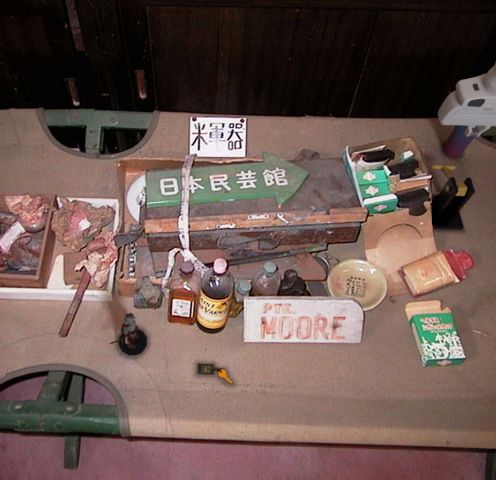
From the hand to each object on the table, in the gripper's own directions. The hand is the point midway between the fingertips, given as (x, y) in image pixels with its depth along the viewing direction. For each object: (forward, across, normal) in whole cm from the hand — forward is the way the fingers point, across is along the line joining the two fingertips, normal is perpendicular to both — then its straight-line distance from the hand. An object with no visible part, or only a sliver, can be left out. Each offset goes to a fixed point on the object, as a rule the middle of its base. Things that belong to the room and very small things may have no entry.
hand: (471, 134), depth 128 cm
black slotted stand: (+20, +2, +10) cm, 22 cm away
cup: (+20, -6, -12) cm, 24 cm away
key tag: (+19, +62, +56) cm, 85 cm away
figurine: (+19, +80, +49) cm, 96 cm away
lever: (+12, +1, +6) cm, 13 cm away
